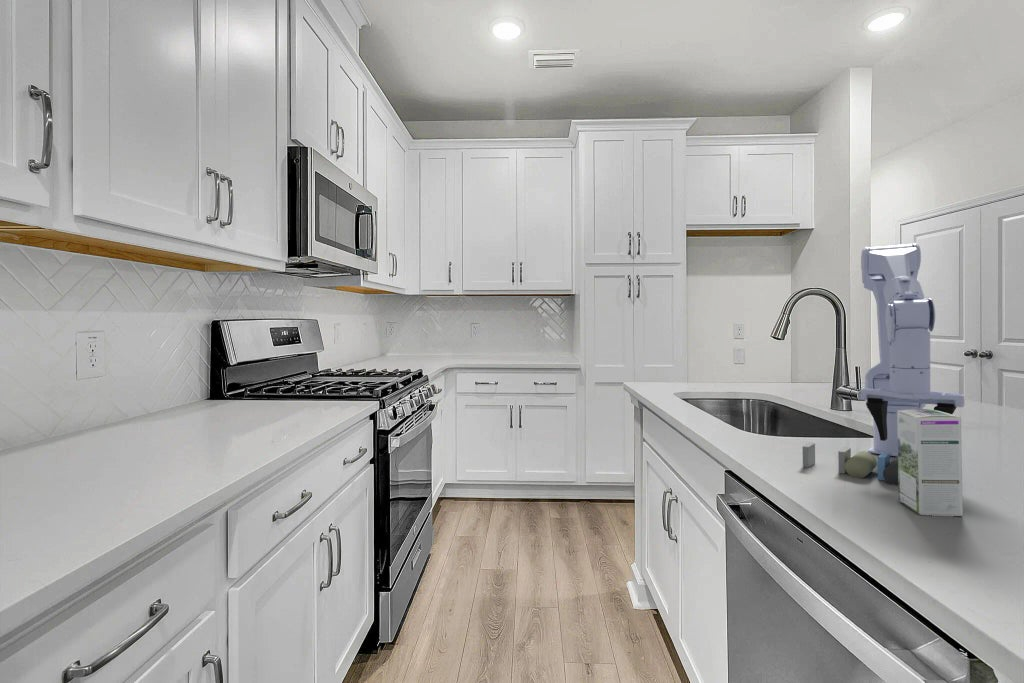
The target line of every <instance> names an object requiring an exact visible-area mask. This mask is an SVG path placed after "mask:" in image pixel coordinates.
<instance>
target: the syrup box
mask: <svg viewBox="0 0 1024 683" xmlns="http://www.w3.org/2000/svg"><path fill="white" fill-rule="evenodd" d="M897 431H898V485H899V486H898V485H897V486H898V502H899V503H900V504H903V505H904V506H905V507H907V508H909V509H910V510H911V511H913V512H915V513H917V514H918V515H921V516H929V515H930V516H931V515H932V516H931V517H953V516H962V517H963V515H964V514H963V513H964V512H963V510H964V508H963V505H964V503H963V500H964V499H963V497H964V496H963V462H962V461H963V454H962V453H963V452H962V450H963V449H962V446H963V445H962V417H961V416H959V415H955V414H949V413H945V412H941V411H938V410H934V409H928V408H927V409H926V408H923V409H910V410H897Z"/></svg>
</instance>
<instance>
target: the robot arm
mask: <svg viewBox="0 0 1024 683" xmlns="http://www.w3.org/2000/svg"><path fill="white" fill-rule="evenodd" d="M860 254H861V256H860V266H861V267H860V268H861V280H862V284H863V288H864V289H866V290H868V291H871V292H872V294H873V296H874V299H875V302H876V315H877V316H876V317H877V331H878V333H877V334H878V350H879V352H878V353H879V363H877V364H876V365H874V366H872V367H870V368H869V369H868V370H867V371H866V373H865V377H864V380H865V382H864V388H863V387H862V388H861V389H860V390H859V392H860V394H859V396H860V398H859V399H860V400H863V401H864V402H865V405H866V408H867V410H868V411H869V413H870V415H871V417H872V418H873V419H872V420H873V422H872V423H873V425H872V426H873V430H872V431H873V433H872V434H873V446H871V447H869V449H867V452H868V453H871V454H877V455H881V454H882V453H883V452H884V453H890V456H893V457H897V456H898V431H897V410H910V409H925V407H926V406H927V405H936V406H934V407H933V410H938V411H941V412H945V413H949V414H952V415H954V413H955V411H956V410H957V408H963V407H964V406H965V394H964V393H963V394H962V393H961V394H960V393H951V392H950V393H949V392H940V391H939V392H938V391H932V390H931V332H933V330H934V328H935V323H936V308H935V304H934V303H935V302H934V301H933V299H932V298H931V297H928V296H926V297H925V294H924V291H923V289H922V286H921V283H920V282H919V280H917V278H918V274H919V271H920V267H921V262H922V260H921V259H922V253H921V247H920V245H919V244H918V243H916V242H912V243H907V244H896V245H895V244H894V245H885V246H883V245H881V246H872V247H869V246H865V247H864V248H863V249H862V251H861V253H860Z"/></svg>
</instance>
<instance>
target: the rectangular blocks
mask: <svg viewBox="0 0 1024 683" xmlns="http://www.w3.org/2000/svg"><path fill="white" fill-rule="evenodd" d="M851 453H852V451H851V447H846V446H844V447H842V448H841V449H840V450H838V456H837V457H838V458H837V459H838V460H837V461H838V473H839V474H843V475H844V474H848V473H847V472H846V470H845V463H846V461H847V460H849V459H850V458H851V456H852V454H851ZM890 463H891V457H890V453H884V452H883V453H882V454H878V456H877V480H880V481H886V480H885V479H884V477H883V471H884V469H885V468H886V467H887V466H888V465H889V464H890ZM815 464H816V443H815V442H808V443H806V444H804V445H803V446H802V467H803V468H808V469H809V468H811V467H812V466H813V465H815Z"/></svg>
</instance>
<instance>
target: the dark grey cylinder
mask: <svg viewBox="0 0 1024 683" xmlns="http://www.w3.org/2000/svg"><path fill="white" fill-rule="evenodd" d="M883 477H884V479H885V480H884V481H885V482H886V483H888V484H889V485H892V484H893V486H898V456H895V458H894V460H892V461H890V464H889V465H888V466H887V467H886V468H885V469H884V471H883Z"/></svg>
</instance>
